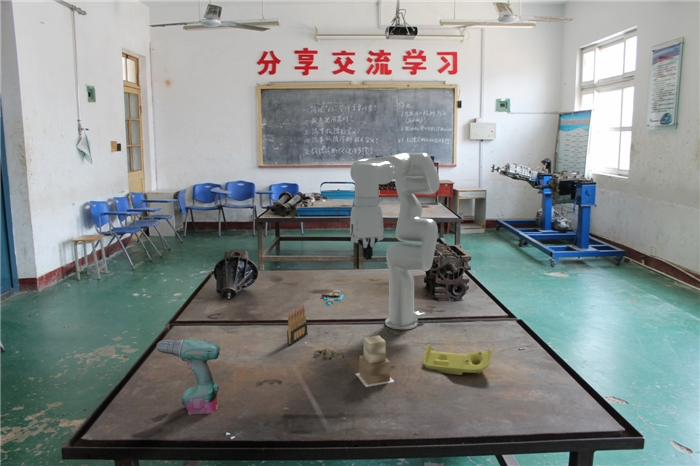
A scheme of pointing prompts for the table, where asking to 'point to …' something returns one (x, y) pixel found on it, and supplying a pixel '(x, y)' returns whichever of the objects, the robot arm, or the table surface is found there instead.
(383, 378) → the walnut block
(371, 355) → the maple block
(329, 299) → the gear mechanism
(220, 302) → the table surface
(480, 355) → the plastic component
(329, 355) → the mineral rock
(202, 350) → the power drill
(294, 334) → the ammunition clip
